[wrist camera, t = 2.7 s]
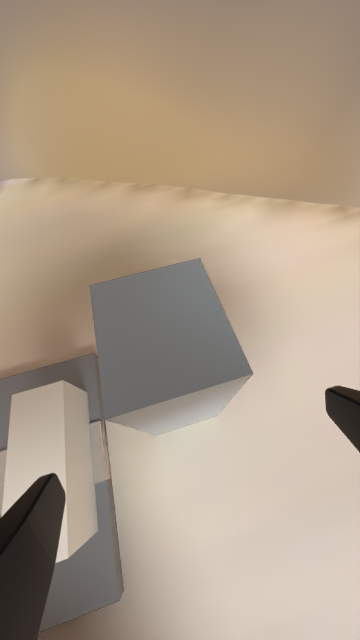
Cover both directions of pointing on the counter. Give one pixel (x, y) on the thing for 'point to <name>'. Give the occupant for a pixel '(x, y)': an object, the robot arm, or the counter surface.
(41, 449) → the board
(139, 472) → the counter surface
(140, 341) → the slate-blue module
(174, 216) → the counter surface
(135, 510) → the counter surface
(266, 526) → the counter surface
